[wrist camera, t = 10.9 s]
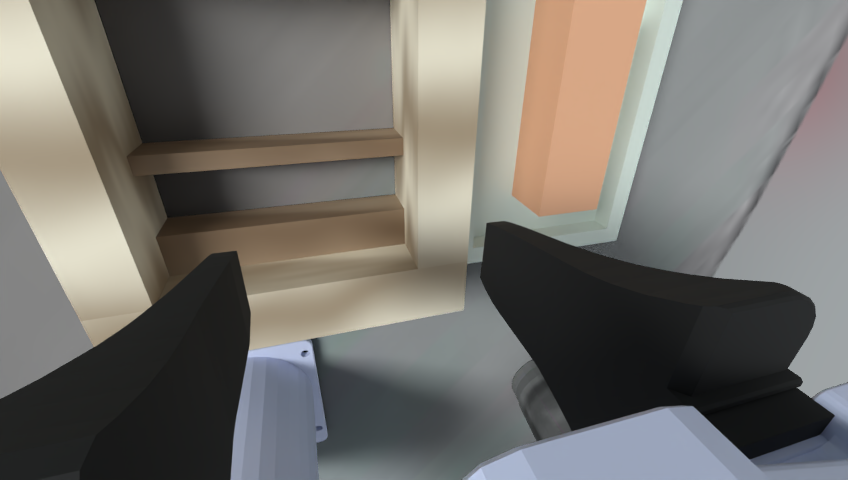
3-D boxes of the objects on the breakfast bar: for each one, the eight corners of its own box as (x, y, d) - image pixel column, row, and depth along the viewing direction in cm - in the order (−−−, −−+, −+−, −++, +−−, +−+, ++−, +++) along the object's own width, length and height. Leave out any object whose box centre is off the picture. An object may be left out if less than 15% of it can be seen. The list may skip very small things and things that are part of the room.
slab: (564, 189, 24) (596, 209, 21) (511, 195, 23) (539, 216, 20) (601, -7, 19) (649, -11, 17) (536, -9, 18) (576, -13, 16)
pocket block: (436, 265, 25) (463, 310, 21) (142, 310, 20) (109, 376, 17) (448, -132, 16) (499, -181, 12) (-70, -191, 12) (-243, -292, 8)
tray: (597, 228, 27) (616, 240, 25) (445, 250, 24) (455, 265, 23) (670, -66, 19) (703, -73, 18) (458, -83, 16) (475, -93, 15)
